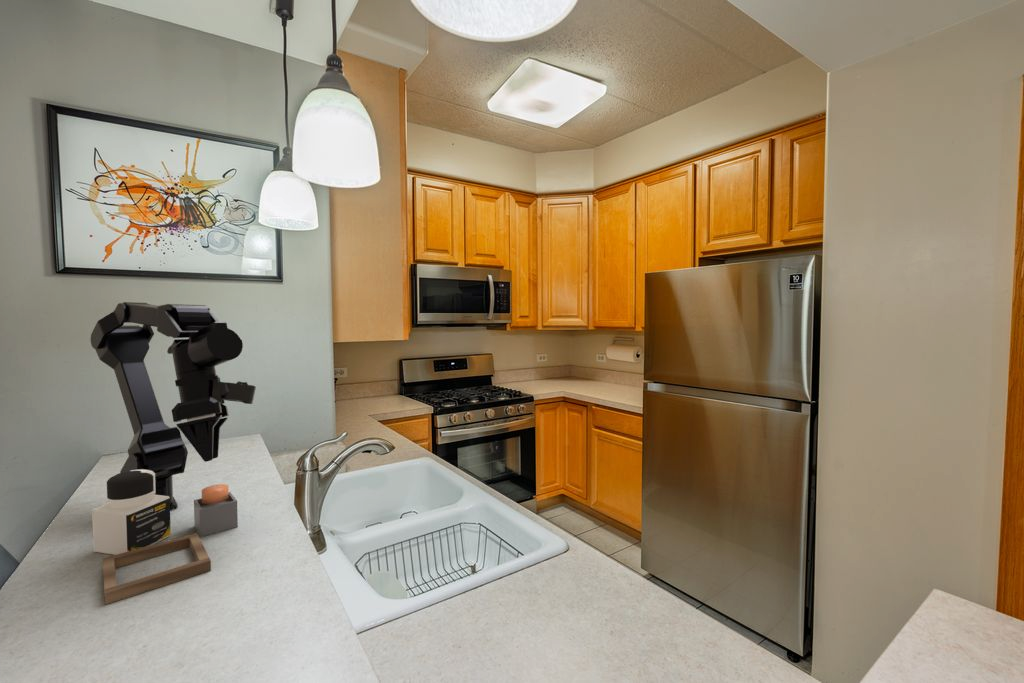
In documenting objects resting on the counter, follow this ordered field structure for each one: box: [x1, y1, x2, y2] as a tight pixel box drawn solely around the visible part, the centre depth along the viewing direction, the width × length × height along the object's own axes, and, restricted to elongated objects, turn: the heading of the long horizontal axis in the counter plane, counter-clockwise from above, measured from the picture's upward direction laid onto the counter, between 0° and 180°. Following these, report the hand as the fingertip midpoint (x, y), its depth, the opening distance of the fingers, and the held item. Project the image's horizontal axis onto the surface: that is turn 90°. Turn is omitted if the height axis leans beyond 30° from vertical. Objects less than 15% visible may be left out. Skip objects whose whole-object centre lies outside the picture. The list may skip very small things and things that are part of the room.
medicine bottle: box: [91, 469, 172, 556], centre depth 72 cm, size 7×7×12 cm
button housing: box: [193, 491, 239, 538], centre depth 79 cm, size 6×6×5 cm
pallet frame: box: [102, 532, 212, 605], centre depth 65 cm, size 12×12×2 cm
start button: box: [201, 483, 230, 504], centre depth 79 cm, size 4×4×2 cm
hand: (211, 459), depth 77 cm, fingers open, 9 cm apart
